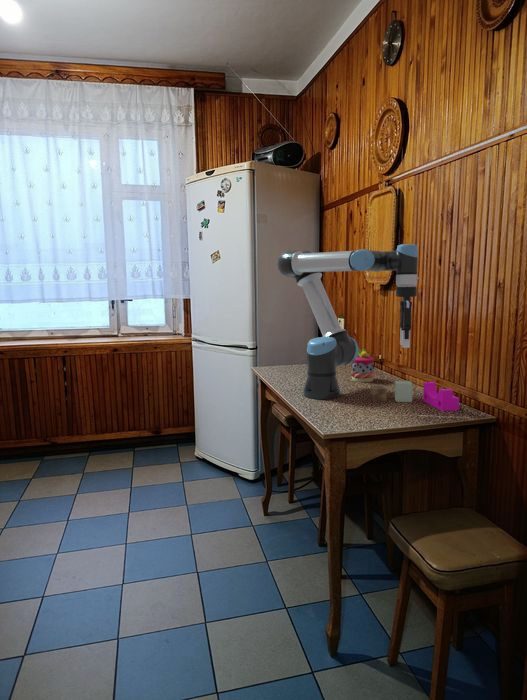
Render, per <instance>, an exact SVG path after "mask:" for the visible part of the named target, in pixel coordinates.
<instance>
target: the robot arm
mask: <svg viewBox="0 0 527 700" xmlns="http://www.w3.org/2000/svg"><path fill="white" fill-rule="evenodd" d="M396 247H397V248H396V250H390V251H389V250H388V251H387V250H385V251H382V250H372V249H371V250H370V249H357V250H346V251H345V250H343V251H325V252H314V251H313V252H312V251H310V250H303V251H302V250H294V249H293V250H292V249H290V250H286V251H283V252H282V253H281V254H280V255H279V257H278V258H277V264H276V265H277V269H278V271H279V273H280V274H281V275H282V276H284V277H287V278H292V279H293V278H294V279H295V281H296V284H297V286H298V287H301V288H302V290H303V292H304V294H305V297H306V299H307V301H308V304H309V306H310V309H311V311H312V314H313V316H314V318H315V321H316V323H317V325H318V328H319V330H320V333H321V335H322V336H321V337H314V338H311V339H309V341H308V342H307V347H306V352H307V353H306V354H307V355H306V356H307V360H306V361H307V362H306V363H307V364H306V365H307V366H306V367H307V373H306V374H307V376H306V380H305V383H304V386H303V389H302V395H303V397H306V398H309V399H315V400H316V399H317V400H330V399H336V398H339V397H340V396H341V388H340V385H339V382H338V379H337V367H340V366H341V367H342V366H346V365H348V364H352V363H351V362H353V361H354V360H355V359H356V357H357V354H358V349H359V345H358V343H357V341H356V340H355V338H353V337H350V336H349V334H348V332H347V330H346V329H344V328H342V326H341V325H340V322H339V319H338V317H337V315H336V313H335V311H334V308H333V305H332V303H331V301H330V299H329V296H328V294H327V292H326V289H325V287H324V285H323V282H322V280H321V279H322V276H323V274H322V272H323V273H324V272H325V273H326V272H365V271H368V272H369V271H370V272H378V273H379V272H390V271H391V272H393V271H396V275H395V285H396V286H397V287H395V296H396V298H401V300H400V301H399V307H400V308H399V309H400V310H399V311H400V320H399V328H400V330H399V333H400V334H399V346H401V348H404V349H409V348H410V347H411V330H412V306H413V301H411V298H412V297H413V298H415V297H417V295H418V294H417V293H418V289H417V288H418V287H417V284H418V280H419V279H420V278H419V276H418V264H419V261H418V260H419V251H418V249H419V247H418V245H417V244H413V243H410V244H409V243H408V244H407V243H405V244H403V243H402V244H399V245H397V246H396Z"/></svg>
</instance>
